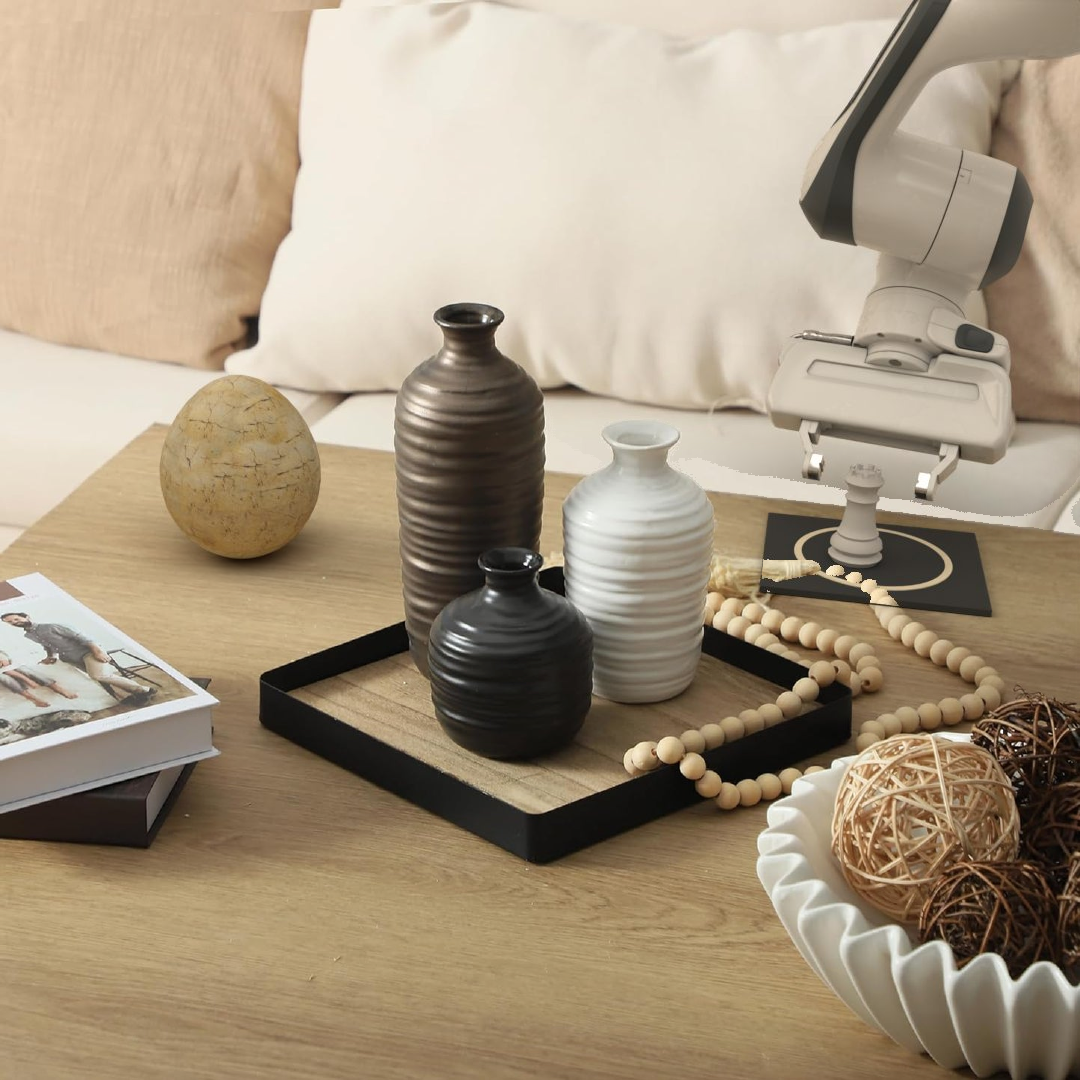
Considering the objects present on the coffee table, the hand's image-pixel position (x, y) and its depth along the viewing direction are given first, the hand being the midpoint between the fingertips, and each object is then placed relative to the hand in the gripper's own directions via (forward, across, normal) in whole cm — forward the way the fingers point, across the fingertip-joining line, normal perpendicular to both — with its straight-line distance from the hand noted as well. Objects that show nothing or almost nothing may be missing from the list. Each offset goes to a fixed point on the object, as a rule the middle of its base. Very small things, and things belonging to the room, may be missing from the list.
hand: (866, 487), depth 122 cm
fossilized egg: (+21, -46, -12) cm, 52 cm away
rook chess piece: (+6, 0, +3) cm, 6 cm away
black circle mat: (+5, +1, +4) cm, 7 cm away
